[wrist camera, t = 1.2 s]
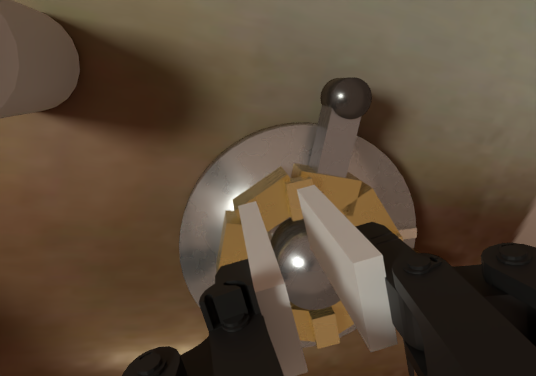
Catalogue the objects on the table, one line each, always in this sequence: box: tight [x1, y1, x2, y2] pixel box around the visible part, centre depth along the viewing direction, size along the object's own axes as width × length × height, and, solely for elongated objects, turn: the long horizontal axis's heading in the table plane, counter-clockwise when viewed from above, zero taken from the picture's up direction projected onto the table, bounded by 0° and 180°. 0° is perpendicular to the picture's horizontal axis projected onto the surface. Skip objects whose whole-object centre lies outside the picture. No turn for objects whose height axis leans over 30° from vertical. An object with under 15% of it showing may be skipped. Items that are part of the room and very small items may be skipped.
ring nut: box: [216, 78, 403, 349], centre depth 31 cm, size 22×15×4 cm, turn 169°
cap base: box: [179, 123, 421, 348], centre depth 33 cm, size 22×22×8 cm
